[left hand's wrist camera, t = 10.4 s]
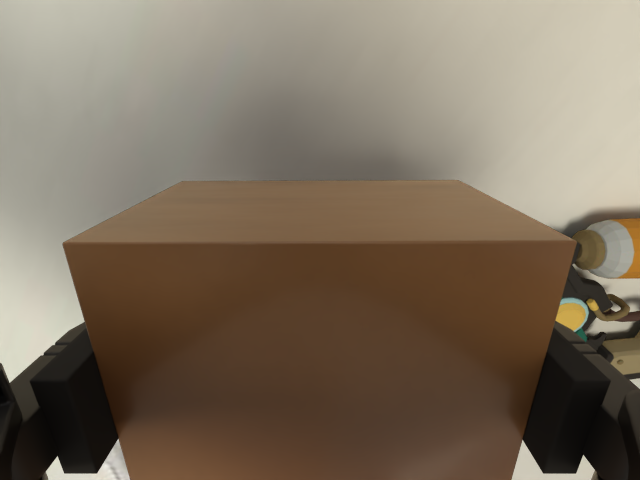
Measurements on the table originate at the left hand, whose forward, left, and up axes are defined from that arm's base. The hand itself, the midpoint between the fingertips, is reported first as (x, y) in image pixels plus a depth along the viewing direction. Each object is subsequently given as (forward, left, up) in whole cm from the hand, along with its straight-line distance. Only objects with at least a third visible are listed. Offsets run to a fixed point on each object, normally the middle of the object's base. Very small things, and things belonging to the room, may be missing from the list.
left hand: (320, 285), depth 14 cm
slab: (+32, -7, -1) cm, 33 cm away
